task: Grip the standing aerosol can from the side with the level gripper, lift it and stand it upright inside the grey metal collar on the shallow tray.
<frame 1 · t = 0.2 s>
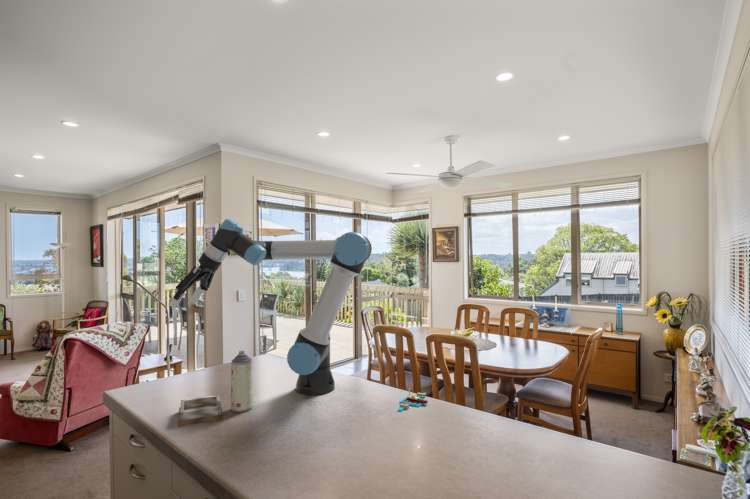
hand: (182, 304, 150), 35 cm above the countertop, tool tilted 35°, fingers open, 13 cm apart
aerosol can: (241, 409, 138), on the countertop
shallow tray: (200, 415, 133), on the countertop
gear mechanism: (414, 404, 144), on the countertop
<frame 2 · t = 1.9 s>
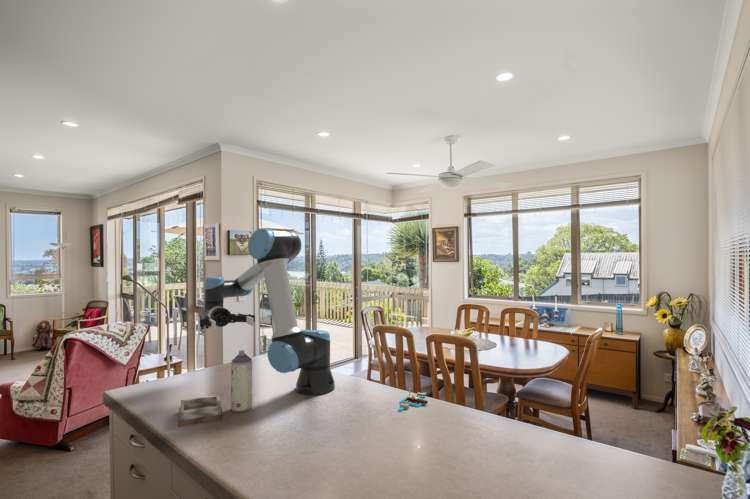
hand: (234, 323, 147), 28 cm above the countertop, tool horizontal, fingers open, 13 cm apart
nothing on the countertop moved.
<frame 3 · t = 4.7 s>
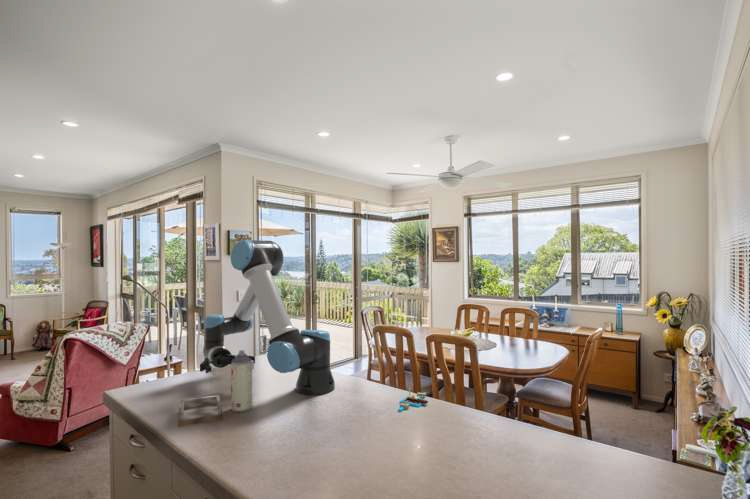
hand: (234, 368, 146), 12 cm above the countertop, tool horizontal, fingers open, 13 cm apart
nothing on the countertop moved.
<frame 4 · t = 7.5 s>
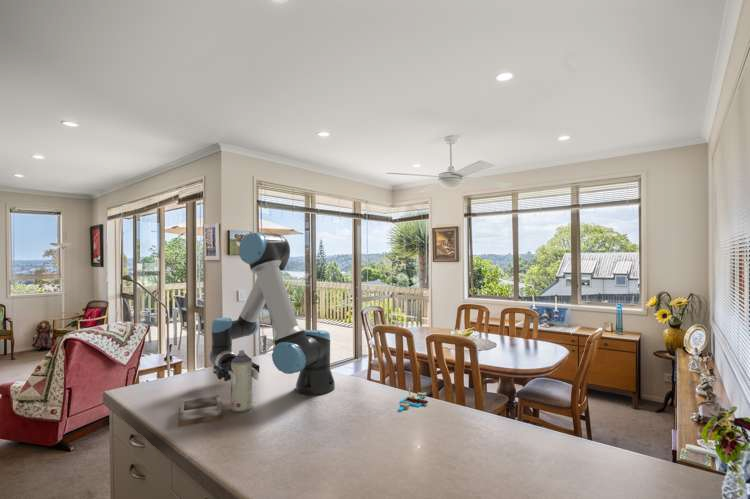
hand: (245, 377, 135), 12 cm above the countertop, tool horizontal, fingers closed on aerosol can, 7 cm apart
aerosol can: (241, 409, 138), on the countertop, touching gripper
everything else where it was.
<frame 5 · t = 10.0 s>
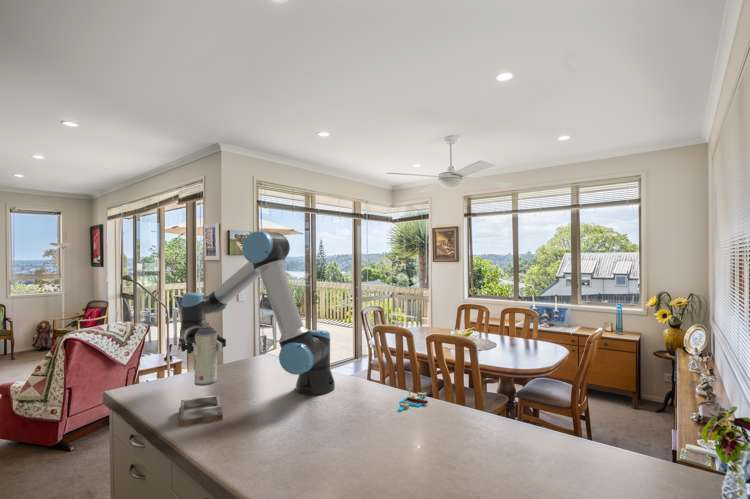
hand: (208, 349, 131), 22 cm above the countertop, tool horizontal, fingers closed on aerosol can, 7 cm apart
aerosol can: (205, 383, 135), point 10 cm above the countertop, touching gripper
everything else where it was.
when the fingers open (14 cm above the countertop, at t = 12.7 s): aerosol can stays where it is, resting on shallow tray.
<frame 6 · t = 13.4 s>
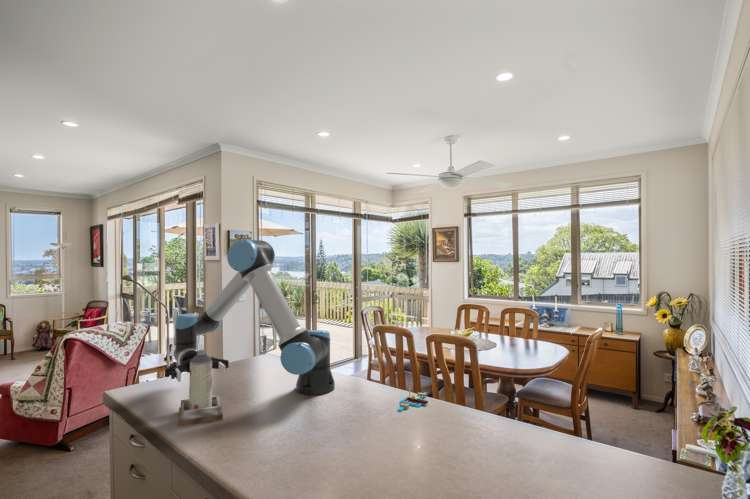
hand: (202, 373, 131), 14 cm above the countertop, tool horizontal, fingers open, 13 cm apart
aerosol can: (200, 411, 133), point 1 cm above the countertop, touching shallow tray
everything else where it was.
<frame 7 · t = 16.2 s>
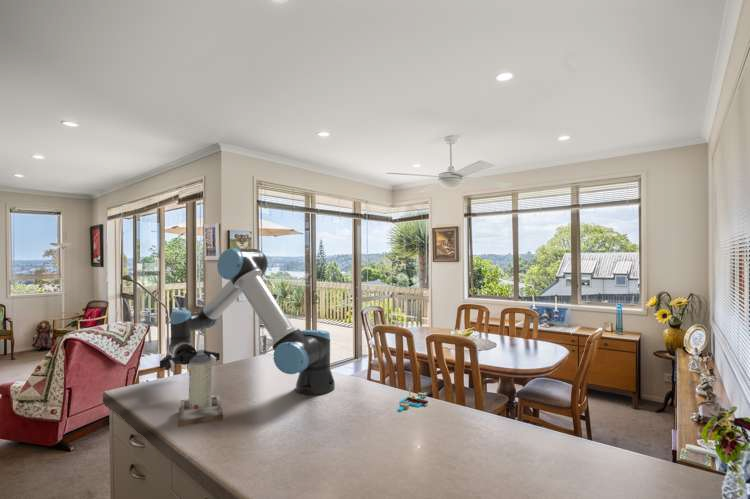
hand: (194, 365, 141), 15 cm above the countertop, tool horizontal, fingers open, 13 cm apart
nothing on the countertop moved.
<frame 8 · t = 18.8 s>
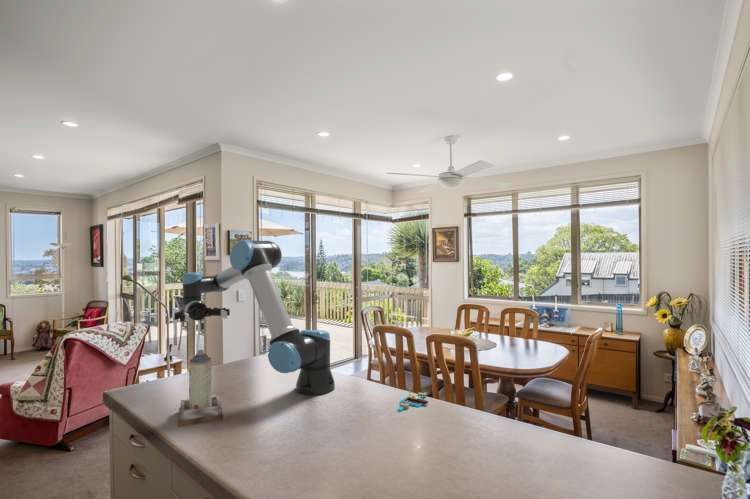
hand: (207, 316, 152), 30 cm above the countertop, tool horizontal, fingers open, 13 cm apart
nothing on the countertop moved.
at the end: aerosol can 0.1 cm off-centre on the shallow tray, point 1.3 cm above the shallow tray's base; aerosol can tilted 0°; the gripper is holding nothing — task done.
